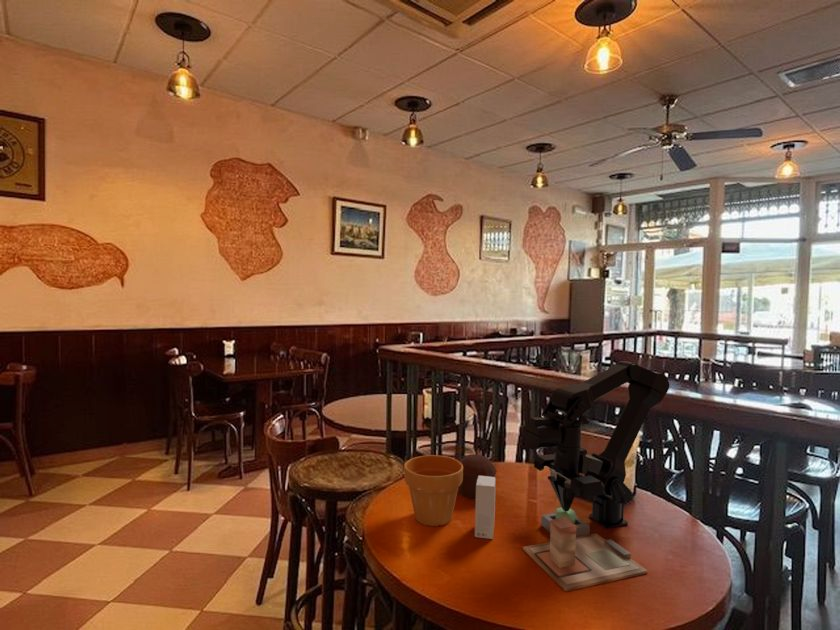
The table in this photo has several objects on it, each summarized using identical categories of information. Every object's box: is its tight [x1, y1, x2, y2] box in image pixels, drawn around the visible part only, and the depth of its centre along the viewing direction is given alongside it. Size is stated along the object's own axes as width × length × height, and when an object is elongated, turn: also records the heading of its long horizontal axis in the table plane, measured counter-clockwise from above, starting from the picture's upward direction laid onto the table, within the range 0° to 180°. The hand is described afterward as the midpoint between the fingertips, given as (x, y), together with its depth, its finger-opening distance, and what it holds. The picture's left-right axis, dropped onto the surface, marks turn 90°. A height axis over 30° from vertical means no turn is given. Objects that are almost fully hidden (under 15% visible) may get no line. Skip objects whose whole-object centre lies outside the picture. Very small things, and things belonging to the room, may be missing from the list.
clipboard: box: [522, 533, 648, 592], centre depth 98 cm, size 19×15×2 cm
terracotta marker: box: [549, 518, 576, 568], centre depth 96 cm, size 4×4×8 cm
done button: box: [555, 507, 577, 524], centre depth 110 cm, size 4×4×3 cm
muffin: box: [458, 453, 498, 501], centre depth 130 cm, size 12×11×10 cm
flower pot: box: [403, 454, 463, 527], centre depth 115 cm, size 14×14×13 cm
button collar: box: [541, 512, 591, 537], centre depth 110 cm, size 8×8×2 cm
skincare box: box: [474, 475, 496, 540], centre depth 108 cm, size 6×4×12 cm
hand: (565, 510), depth 110 cm, fingers closed
